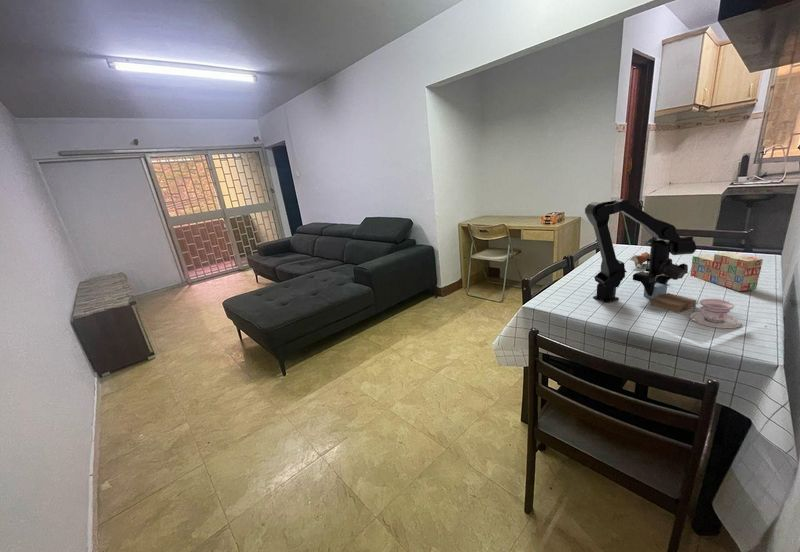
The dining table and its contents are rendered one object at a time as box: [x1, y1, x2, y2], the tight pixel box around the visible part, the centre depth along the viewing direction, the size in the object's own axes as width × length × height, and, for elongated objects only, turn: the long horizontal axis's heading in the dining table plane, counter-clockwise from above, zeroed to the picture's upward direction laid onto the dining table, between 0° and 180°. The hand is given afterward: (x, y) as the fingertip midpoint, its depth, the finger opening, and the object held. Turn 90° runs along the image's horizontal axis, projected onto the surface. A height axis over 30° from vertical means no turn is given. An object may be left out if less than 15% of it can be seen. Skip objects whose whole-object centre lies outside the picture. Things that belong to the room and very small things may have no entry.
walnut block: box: [650, 292, 697, 313], centre depth 115 cm, size 9×9×3 cm
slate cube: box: [643, 283, 668, 300], centre depth 124 cm, size 5×5×5 cm
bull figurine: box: [629, 251, 650, 269], centre depth 156 cm, size 4×13×8 cm, turn 115°
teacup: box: [689, 298, 742, 329], centre depth 102 cm, size 12×12×6 cm
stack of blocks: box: [690, 251, 764, 292], centre depth 129 cm, size 21×6×12 cm, turn 2°
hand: (654, 294), depth 124 cm, fingers closed on slate cube, 5 cm apart
